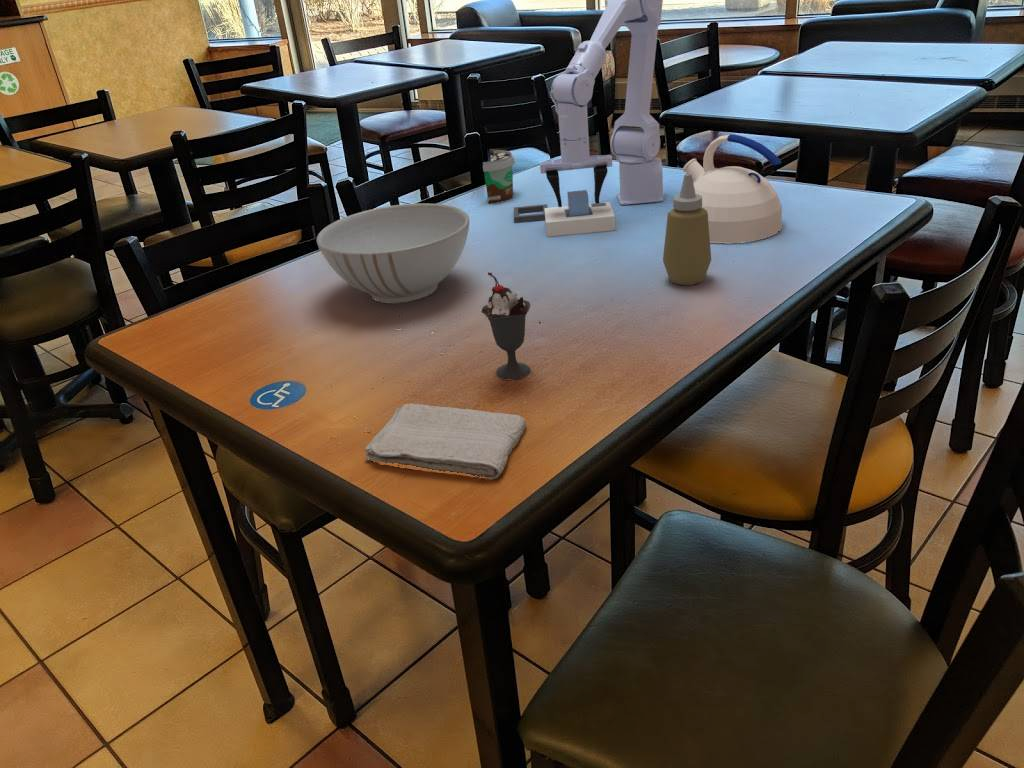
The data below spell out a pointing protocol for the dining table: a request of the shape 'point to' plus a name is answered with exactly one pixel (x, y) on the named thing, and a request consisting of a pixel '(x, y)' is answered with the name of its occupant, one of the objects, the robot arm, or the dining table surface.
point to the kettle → (736, 196)
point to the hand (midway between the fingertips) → (578, 204)
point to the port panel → (579, 220)
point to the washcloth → (448, 439)
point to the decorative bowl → (396, 249)
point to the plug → (578, 203)
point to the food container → (499, 176)
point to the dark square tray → (526, 210)
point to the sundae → (508, 327)
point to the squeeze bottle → (687, 237)
